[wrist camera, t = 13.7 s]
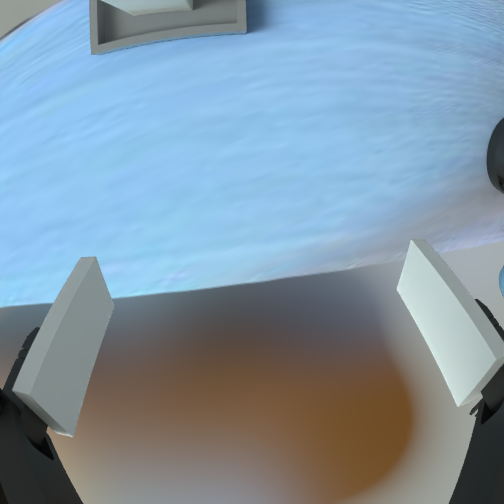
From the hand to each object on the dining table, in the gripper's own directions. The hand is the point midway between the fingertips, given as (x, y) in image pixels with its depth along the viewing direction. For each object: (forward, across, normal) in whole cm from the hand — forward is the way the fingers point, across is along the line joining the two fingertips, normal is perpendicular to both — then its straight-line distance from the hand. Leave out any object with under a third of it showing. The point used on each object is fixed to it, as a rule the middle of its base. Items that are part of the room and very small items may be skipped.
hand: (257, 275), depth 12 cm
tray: (+29, +8, -20) cm, 36 cm away
